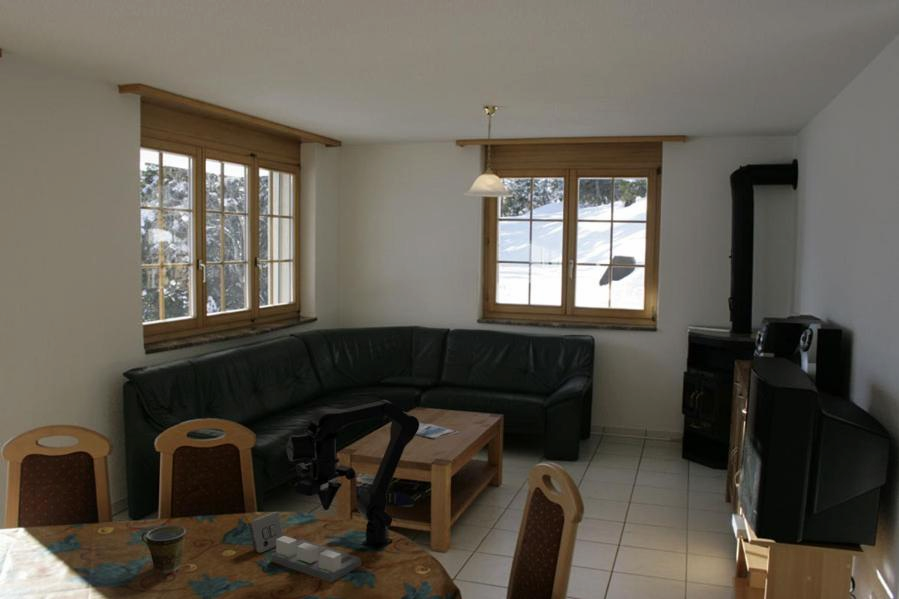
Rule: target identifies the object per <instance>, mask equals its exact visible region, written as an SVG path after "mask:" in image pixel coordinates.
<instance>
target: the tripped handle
mask: <svg viewBox="0 0 899 599" xmlns="http://www.w3.org/2000/svg"><path fill="white" fill-rule="evenodd" d="M297 559H299V560H302V561H305V562H308V563H313V562H314V561H316V560H318V559H319V557H318V547H317V546H314V545H311V544H308V543H303V544H301V545H299V546H297Z"/></svg>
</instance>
